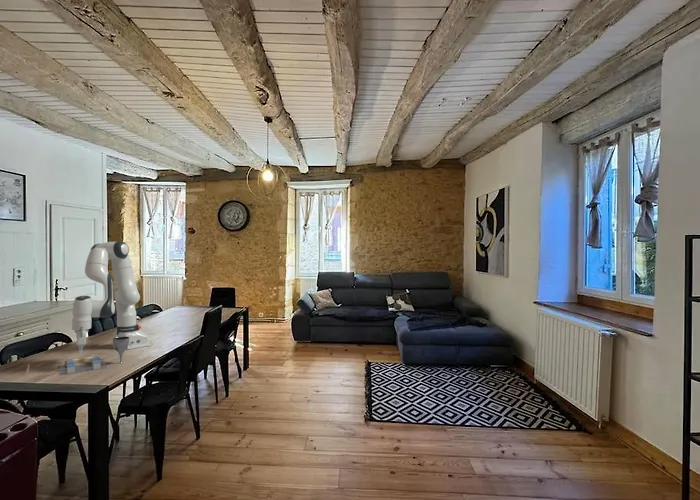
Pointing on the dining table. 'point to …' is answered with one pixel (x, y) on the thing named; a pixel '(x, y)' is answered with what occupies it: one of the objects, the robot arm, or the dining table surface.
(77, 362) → the bar
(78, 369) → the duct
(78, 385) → the dining table surface
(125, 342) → the grey funnel
